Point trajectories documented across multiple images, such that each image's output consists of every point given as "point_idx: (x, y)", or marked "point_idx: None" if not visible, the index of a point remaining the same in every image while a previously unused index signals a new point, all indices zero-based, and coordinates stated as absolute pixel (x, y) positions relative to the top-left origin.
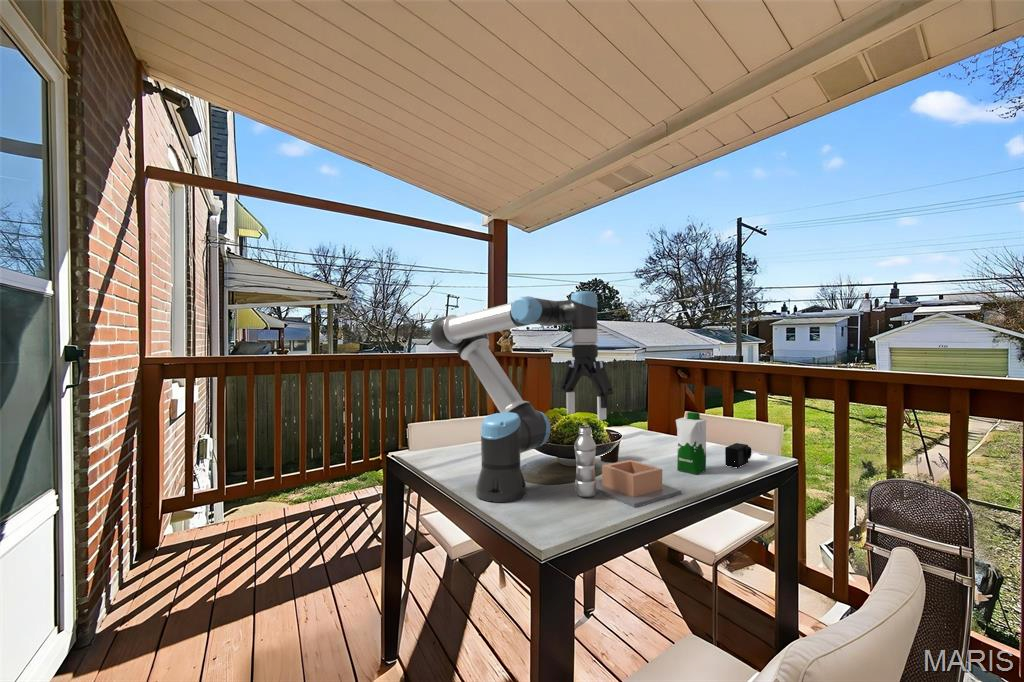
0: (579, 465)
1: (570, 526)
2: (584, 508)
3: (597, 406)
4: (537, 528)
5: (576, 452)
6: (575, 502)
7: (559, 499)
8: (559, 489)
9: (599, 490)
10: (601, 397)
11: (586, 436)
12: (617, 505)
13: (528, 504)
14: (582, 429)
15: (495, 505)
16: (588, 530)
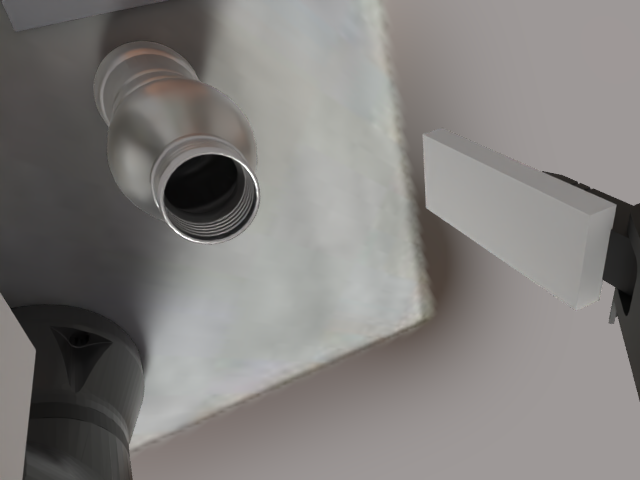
0: (189, 167)
1: (360, 237)
2: (266, 152)
3: (501, 257)
4: (337, 311)
5: (192, 204)
6: None
7: None
8: (30, 166)
9: (128, 7)
10: (604, 270)
11: (239, 184)
12: (282, 19)
13: (175, 310)
14: (242, 229)
15: (155, 396)
16: (396, 203)
